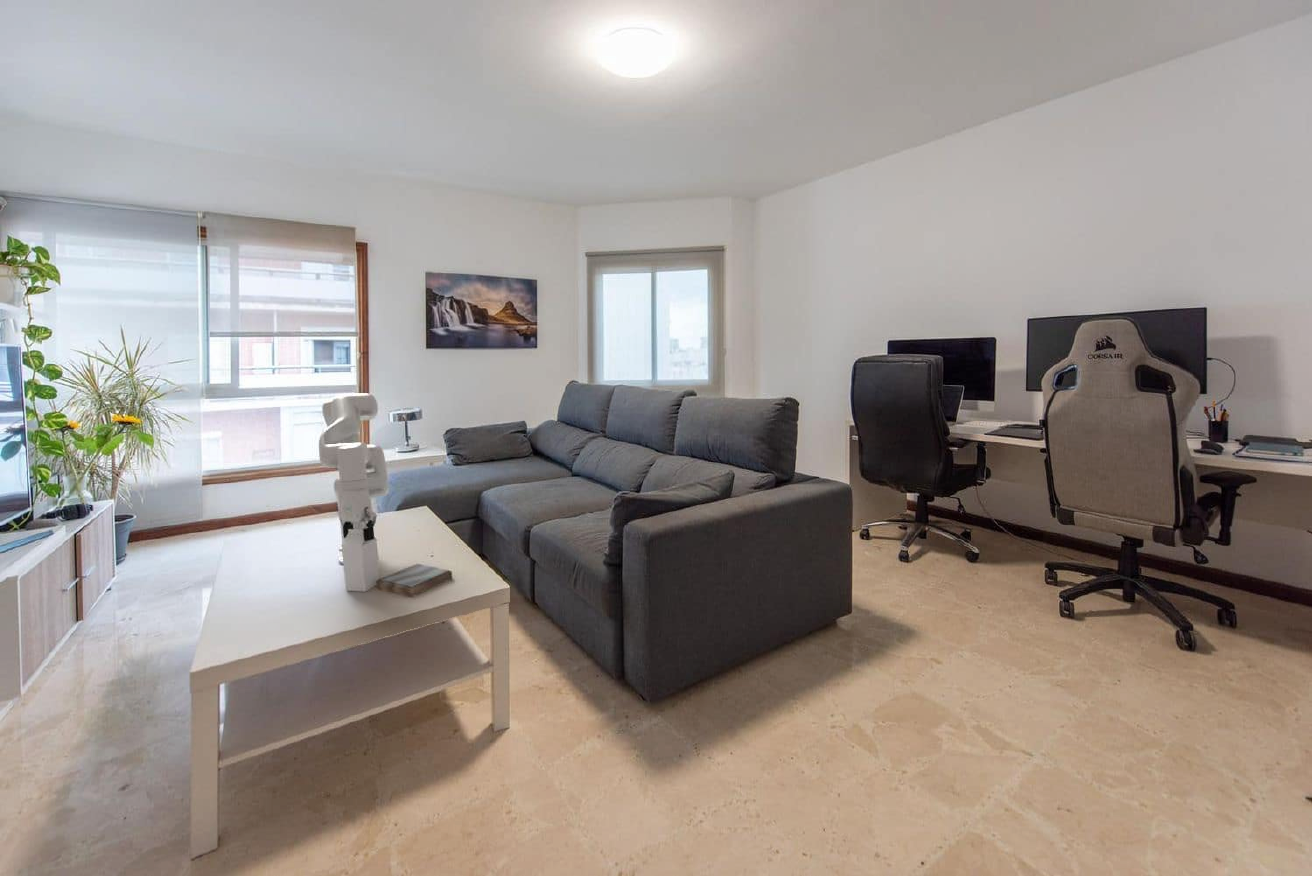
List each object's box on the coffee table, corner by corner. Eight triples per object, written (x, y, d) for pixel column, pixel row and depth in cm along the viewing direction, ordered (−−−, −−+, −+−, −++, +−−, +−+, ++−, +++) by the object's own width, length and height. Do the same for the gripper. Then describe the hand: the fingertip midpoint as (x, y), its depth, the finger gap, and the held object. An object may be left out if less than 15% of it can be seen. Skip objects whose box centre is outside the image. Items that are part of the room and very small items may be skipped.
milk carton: (365, 592, 178) (360, 533, 175) (345, 591, 179) (340, 532, 176) (380, 583, 184) (375, 526, 182) (361, 582, 186) (356, 526, 183)
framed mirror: (376, 588, 180) (375, 579, 180) (418, 571, 194) (417, 563, 194) (411, 597, 173) (411, 587, 173) (452, 578, 187) (451, 570, 187)
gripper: (324, 485, 178) (330, 538, 180) (361, 489, 170) (366, 544, 172) (347, 481, 184) (352, 532, 186) (383, 484, 177) (387, 538, 178)
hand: (359, 538), depth 179 cm, fingers open, 9 cm apart
